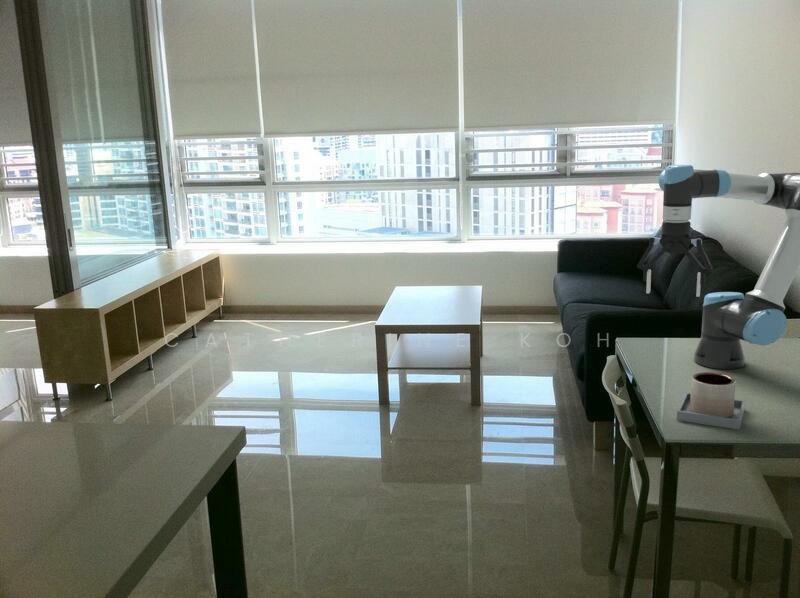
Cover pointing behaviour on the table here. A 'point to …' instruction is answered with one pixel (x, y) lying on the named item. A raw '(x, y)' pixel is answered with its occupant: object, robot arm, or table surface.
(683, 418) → the tray
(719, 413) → the planter
